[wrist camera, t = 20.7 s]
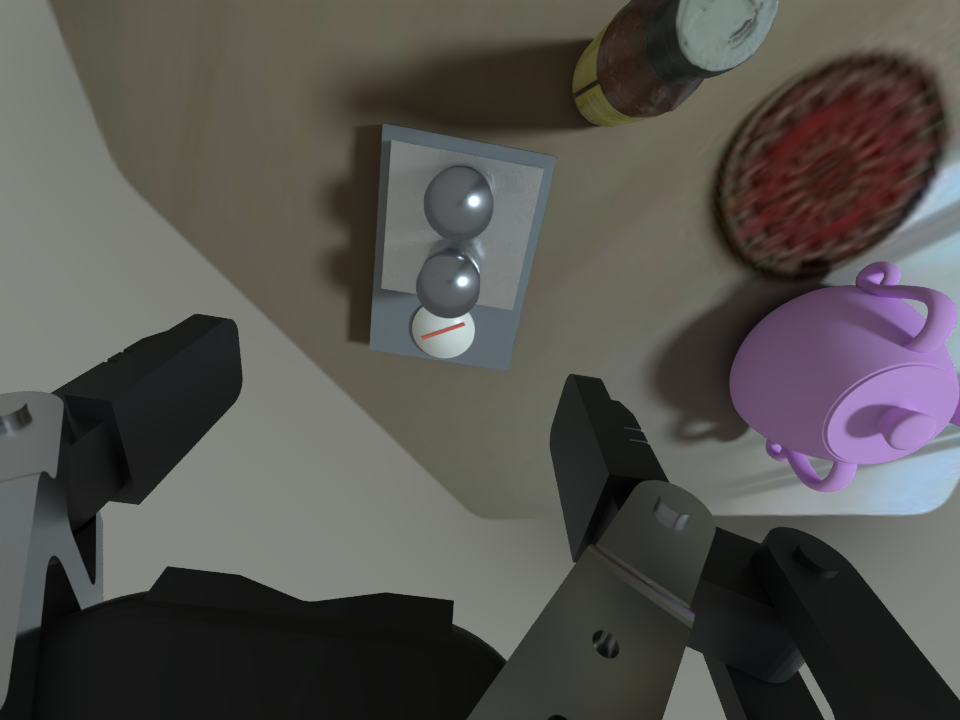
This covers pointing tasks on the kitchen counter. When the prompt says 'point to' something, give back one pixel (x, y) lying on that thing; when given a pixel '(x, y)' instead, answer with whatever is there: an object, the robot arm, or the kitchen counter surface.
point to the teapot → (849, 375)
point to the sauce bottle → (664, 55)
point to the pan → (416, 238)
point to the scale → (483, 328)
